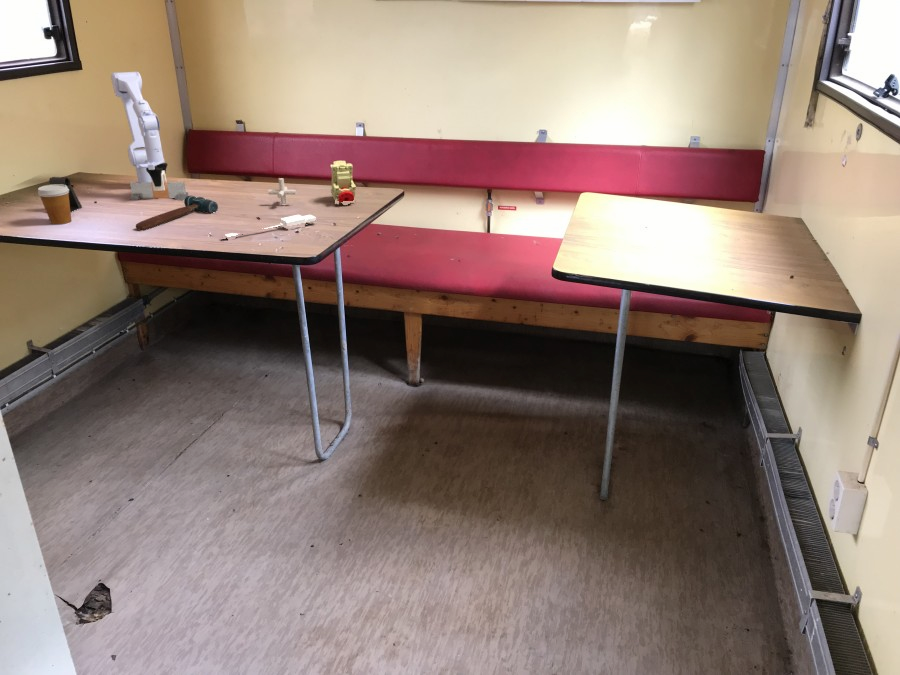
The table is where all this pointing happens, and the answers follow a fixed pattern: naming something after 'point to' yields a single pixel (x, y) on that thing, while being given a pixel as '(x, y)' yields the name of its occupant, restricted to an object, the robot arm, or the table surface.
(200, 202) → the hammer
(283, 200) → the pipe connector
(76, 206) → the phone stand
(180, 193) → the grey and orange bar
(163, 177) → the clip
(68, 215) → the disposable coffee cup
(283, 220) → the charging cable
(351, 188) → the mechanical component
